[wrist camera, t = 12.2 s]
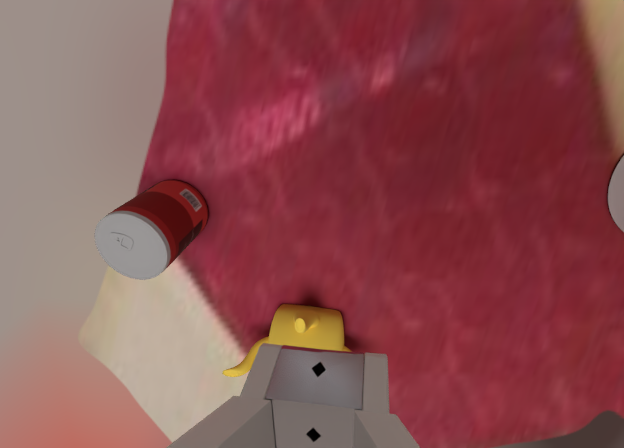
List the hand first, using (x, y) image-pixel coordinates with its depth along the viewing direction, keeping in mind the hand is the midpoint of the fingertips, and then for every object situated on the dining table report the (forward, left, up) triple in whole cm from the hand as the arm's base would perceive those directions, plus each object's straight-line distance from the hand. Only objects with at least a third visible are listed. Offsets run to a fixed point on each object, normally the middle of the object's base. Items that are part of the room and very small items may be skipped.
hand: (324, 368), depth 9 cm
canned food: (+23, +11, -35) cm, 44 cm away
